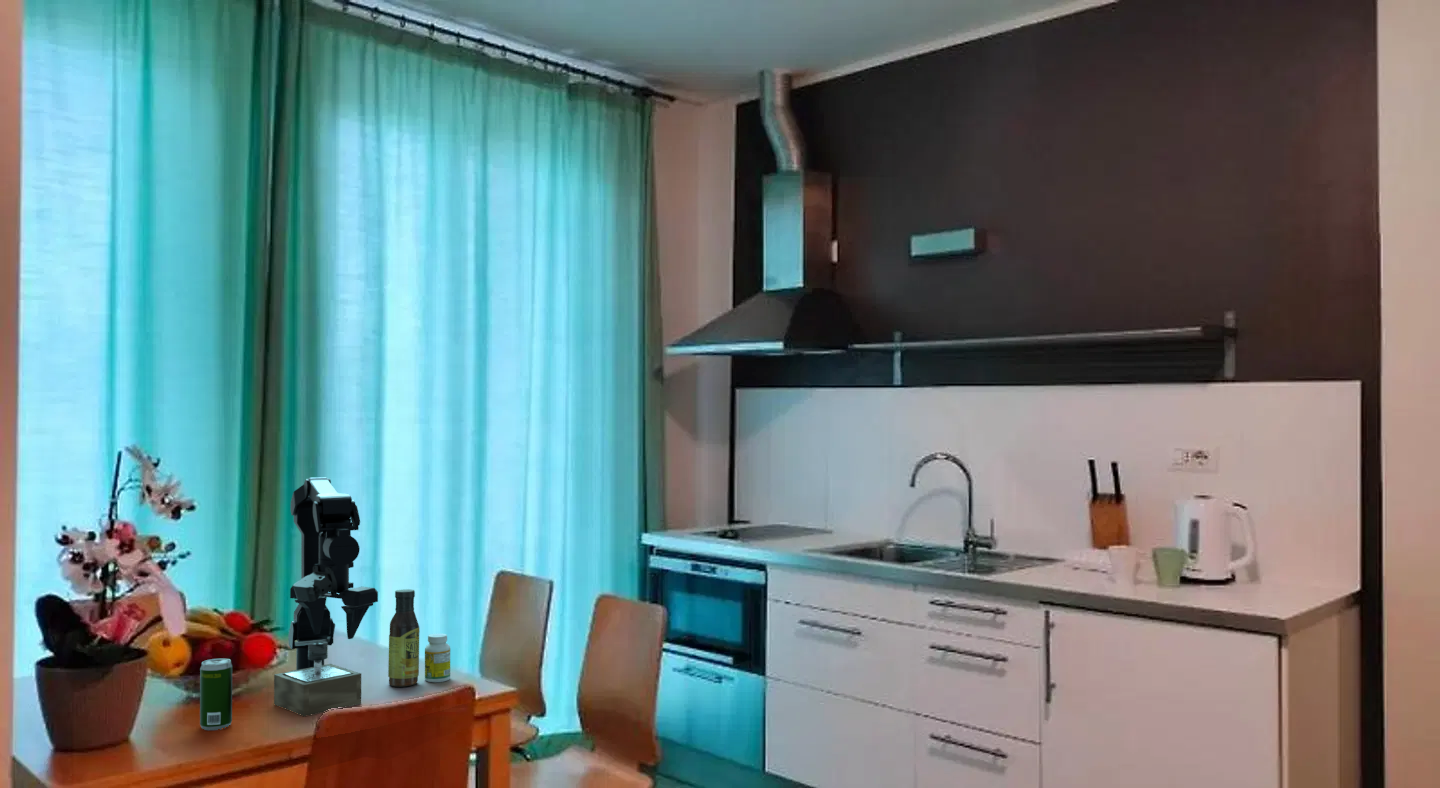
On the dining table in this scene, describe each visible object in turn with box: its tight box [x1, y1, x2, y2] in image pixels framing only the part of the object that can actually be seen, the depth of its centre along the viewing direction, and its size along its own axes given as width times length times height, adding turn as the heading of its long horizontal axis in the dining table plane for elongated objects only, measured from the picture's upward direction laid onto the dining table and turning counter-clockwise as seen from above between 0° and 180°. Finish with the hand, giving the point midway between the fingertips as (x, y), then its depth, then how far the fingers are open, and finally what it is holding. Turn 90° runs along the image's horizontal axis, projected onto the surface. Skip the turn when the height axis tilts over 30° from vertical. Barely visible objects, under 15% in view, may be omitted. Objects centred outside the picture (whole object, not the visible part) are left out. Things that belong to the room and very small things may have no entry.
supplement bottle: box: [424, 633, 451, 683], centre depth 238 cm, size 5×5×10 cm
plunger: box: [284, 641, 351, 683], centre depth 218 cm, size 9×9×7 cm
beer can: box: [199, 658, 233, 731], centre depth 203 cm, size 5×5×12 cm
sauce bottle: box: [387, 588, 420, 688], centre depth 234 cm, size 6×6×20 cm
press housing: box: [273, 663, 362, 717], centre depth 218 cm, size 12×12×6 cm
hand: (333, 636), depth 220 cm, fingers open, 9 cm apart
